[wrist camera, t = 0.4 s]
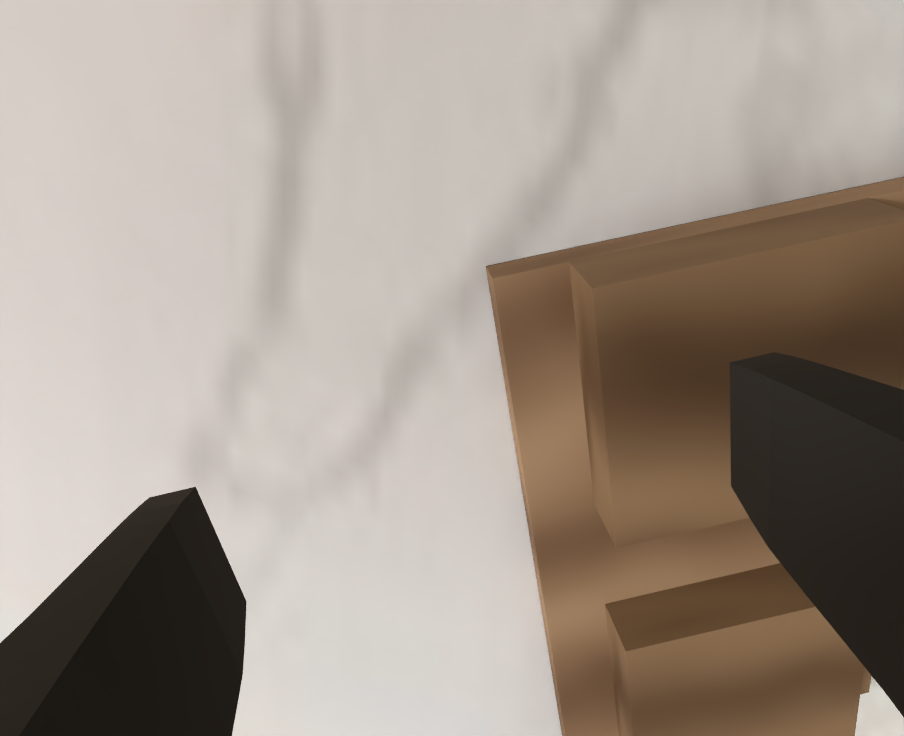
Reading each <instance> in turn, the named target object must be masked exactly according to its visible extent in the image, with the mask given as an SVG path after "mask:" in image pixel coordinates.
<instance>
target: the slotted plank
mask: <svg viewBox="0 0 904 736" xmlns="http://www.w3.org/2000/svg"><path fill="white" fill-rule="evenodd" d="M486 271H487V277H488V283H489V289H490V295H491V301H492V308H493V314H494V320H495V326H496V332H497V338H498V344H499V351H500V357H501V363H502V369H503V375H504V381H505V387H506V393H507V400H508V406H509V412H510V418H511V424H512V430H513V436H514V443H515V449H516V455H517V461H518V467H519V473H520V479H521V486H522V492H523V498H524V504H525V510H526V516H527V522H528V528H529V535H530V541H531V547H532V553H533V559H534V565H535V571H536V578H537V584H538V590H539V596H540V602H541V608H542V614H543V620H544V627H545V633H546V639H547V645H548V651H549V657H550V663H551V670H552V676H553V682H554V688H555V694H556V700H557V706H558V713H559V719H560V725H561V731H562V736H855V728H856V721H857V713H858V706H859V698H860V694H864V693H868V692H869V688H870V680H871V674H870V673H869V672H868V670H867V669H866V668H865V667H864V666H863V664H862V663H861V662H860V661H859V659H858V658H857V657H856V656H855V655H854V653H853V652H852V651H851V650H850V648H849V647H848V646H847V645H846V643H845V642H844V641H843V640H842V639H841V637H840V636H839V635H838V634H837V632H836V631H835V630H834V629H833V628H832V626H831V625H830V624H829V623H828V621H827V620H826V619H825V618H824V617H823V615H822V614H821V613H820V612H819V610H818V609H817V608H816V607H815V605H814V604H813V603H812V602H811V601H810V599H809V598H808V597H807V596H806V594H805V593H804V592H803V591H802V589H801V588H800V587H799V586H798V584H797V583H796V582H795V581H794V579H793V578H792V577H791V576H790V574H789V573H788V572H787V571H786V569H785V568H784V567H783V566H782V564H781V563H780V562H779V561H778V559H777V558H776V557H775V556H774V554H773V553H772V552H771V550H770V549H769V548H768V546H767V545H766V543H765V542H764V540H763V538H762V537H761V535H760V534H759V532H758V531H757V529H756V527H755V526H754V524H753V523H752V521H751V519H750V518H749V516H748V514H747V513H746V511H745V509H744V507H743V506H742V504H741V502H740V501H739V499H738V497H737V495H736V494H735V492H734V490H733V489H732V487H731V442H730V362H734V361H738V360H742V359H747V358H751V357H755V356H760V355H764V354H768V353H772V352H776V353H781V354H785V355H790V356H794V357H798V358H802V359H805V360H809V361H812V362H816V363H819V364H823V365H826V366H829V367H833V368H836V369H839V370H842V371H846V372H849V373H852V374H855V375H858V376H861V377H865V378H868V379H871V380H874V381H877V382H880V383H884V384H887V385H890V386H893V387H896V388H899V389H903V390H904V177H901V178H896V179H892V180H887V181H882V182H878V183H873V184H868V185H864V186H859V187H854V188H850V189H845V190H840V191H836V192H831V193H826V194H822V195H817V196H812V197H808V198H803V199H798V200H794V201H789V202H784V203H780V204H775V205H770V206H766V207H761V208H756V209H752V210H747V211H742V212H738V213H733V214H728V215H724V216H719V217H714V218H710V219H705V220H700V221H696V222H691V223H686V224H682V225H677V226H672V227H668V228H663V229H658V230H653V231H649V232H644V233H639V234H635V235H630V236H625V237H621V238H616V239H611V240H607V241H602V242H597V243H593V244H588V245H583V246H579V247H574V248H569V249H565V250H560V251H555V252H551V253H546V254H541V255H537V256H532V257H527V258H523V259H518V260H513V261H509V262H504V263H499V264H495V265H490V266H486Z"/></svg>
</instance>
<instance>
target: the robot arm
mask: <svg viewBox="0 0 904 736" xmlns="http://www.w3.org/2000/svg"><path fill="white" fill-rule="evenodd" d="M730 442H731V487H732V489H733V490H734V492H735V494H736V495H737V497H738V499H739V501H740V502H741V504H742V506H743V507H744V509H745V511H746V513H747V514H748V516H749V518H750V519H751V521H752V523H753V524H754V526H755V527H756V529H757V531H758V532H759V534H760V535H761V537H762V538H763V540H764V542H765V543H766V545H767V546H768V548H769V549H770V550H771V552H772V553H773V554H774V556H775V557H776V558H777V559H778V561H779V562H780V563H781V564H782V566H783V567H784V568H785V569H786V571H787V572H788V573H789V574H790V576H791V577H792V578H793V579H794V581H795V582H796V583H797V584H798V586H799V587H800V588H801V589H802V591H803V592H804V593H805V594H806V596H807V597H808V598H809V599H810V601H811V602H812V603H813V604H814V605H815V607H816V608H817V609H818V610H819V612H820V613H821V614H822V615H823V617H824V618H825V619H826V620H827V621H828V623H829V624H830V625H831V626H832V628H833V629H834V630H835V631H836V632H837V634H838V635H839V636H840V637H841V639H842V640H843V641H844V642H845V643H846V645H847V646H848V647H849V648H850V650H851V651H852V652H853V653H854V655H855V656H856V657H857V658H858V659H859V661H860V662H861V663H862V664H863V666H864V667H865V668H866V669H867V670H868V672H869V673H870V674H871V675H872V677H873V678H874V679H875V680H876V682H877V683H878V684H879V685H880V686H881V688H882V689H883V690H884V691H885V693H886V694H887V695H888V697H889V698H890V699H891V701H892V702H893V703H894V705H895V706H896V707H897V709H898V710H899V711H900V713H901V714H902V715H903V717H904V390H903V389H899V388H896V387H893V386H890V385H887V384H884V383H880V382H877V381H874V380H871V379H868V378H865V377H861V376H858V375H855V374H852V373H849V372H846V371H842V370H839V369H836V368H833V367H829V366H826V365H823V364H819V363H816V362H812V361H809V360H805V359H802V358H798V357H794V356H790V355H785V354H781V353H776V352H772V353H768V354H764V355H760V356H755V357H751V358H747V359H742V360H738V361H734V362H730ZM245 621H246V600H245V598H244V595H243V593H242V591H241V589H240V586H239V584H238V582H237V580H236V577H235V575H234V573H233V570H232V568H231V566H230V564H229V561H228V559H227V557H226V555H225V552H224V550H223V548H222V546H221V543H220V541H219V539H218V537H217V534H216V532H215V530H214V528H213V525H212V523H211V521H210V518H209V516H208V514H207V512H206V509H205V507H204V505H203V503H202V500H201V498H200V496H199V494H198V491H197V489H196V487H193V488H189V489H185V490H180V491H176V492H172V493H167V494H163V495H159V496H154V497H150V498H148V499H147V500H146V501H145V502H144V503H143V504H141V505H140V506H139V507H138V508H137V509H136V510H135V511H133V512H132V513H131V514H130V515H129V516H128V517H127V518H126V519H125V520H124V521H123V522H122V523H121V524H120V525H119V526H118V527H117V528H116V529H115V530H114V531H113V532H112V533H111V534H110V535H109V536H108V537H107V538H106V539H105V540H104V541H103V542H102V543H101V544H100V545H99V546H98V547H97V548H96V549H95V550H94V551H93V552H92V553H91V554H90V555H89V556H88V557H87V558H86V559H85V560H84V561H83V562H82V563H81V564H80V565H79V566H78V567H77V568H76V569H75V570H74V571H73V572H72V573H71V574H70V575H69V576H68V577H67V578H66V579H65V580H64V581H63V582H62V583H61V584H60V585H59V586H58V587H57V588H56V589H55V590H54V591H53V592H52V593H51V594H50V595H49V596H48V597H47V598H46V599H45V600H44V601H43V602H42V604H41V605H40V606H39V607H38V608H37V609H36V610H35V611H34V612H33V613H32V614H31V615H30V616H29V617H27V618H26V619H25V620H24V621H23V622H22V623H21V624H20V625H19V626H18V627H17V628H16V629H15V630H14V631H13V632H12V633H11V634H10V635H8V636H7V637H6V638H5V639H4V640H3V641H2V642H1V643H0V736H232V731H233V725H234V720H235V714H236V709H237V703H238V698H239V692H240V686H241V680H242V674H243V660H244V645H245Z"/></svg>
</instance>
